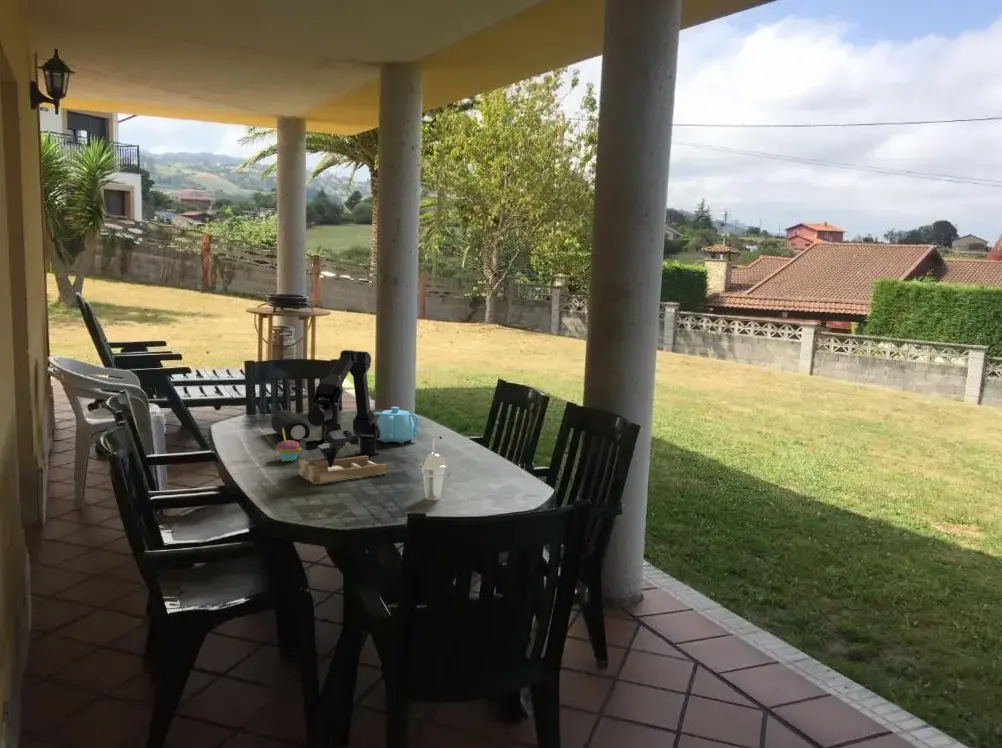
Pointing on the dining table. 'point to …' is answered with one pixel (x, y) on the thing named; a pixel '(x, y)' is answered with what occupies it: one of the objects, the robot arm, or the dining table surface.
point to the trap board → (341, 469)
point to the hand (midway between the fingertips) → (330, 467)
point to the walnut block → (320, 464)
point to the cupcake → (288, 449)
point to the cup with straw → (433, 473)
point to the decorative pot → (397, 425)
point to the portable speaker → (290, 425)
